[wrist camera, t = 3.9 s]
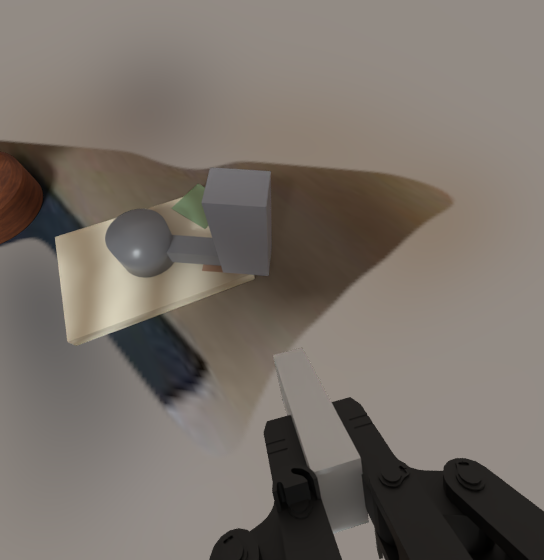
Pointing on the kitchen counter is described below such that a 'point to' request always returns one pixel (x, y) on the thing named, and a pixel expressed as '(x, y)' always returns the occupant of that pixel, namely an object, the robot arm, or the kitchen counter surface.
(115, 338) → the kitchen counter surface
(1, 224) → the music box
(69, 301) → the board
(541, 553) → the robot arm
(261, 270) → the grey block with ball
